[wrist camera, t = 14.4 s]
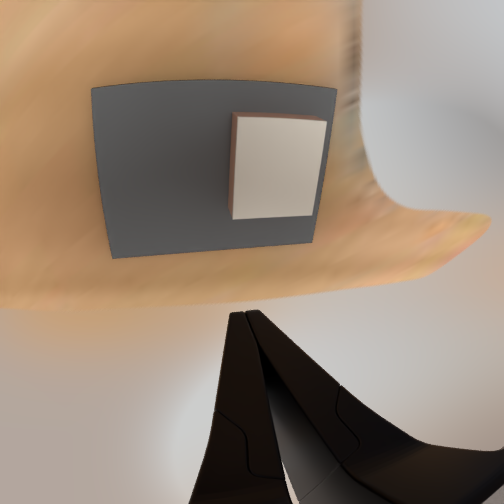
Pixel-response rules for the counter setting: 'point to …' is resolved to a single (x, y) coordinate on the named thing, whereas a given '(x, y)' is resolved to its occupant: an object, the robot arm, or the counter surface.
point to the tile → (274, 164)
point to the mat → (189, 163)
